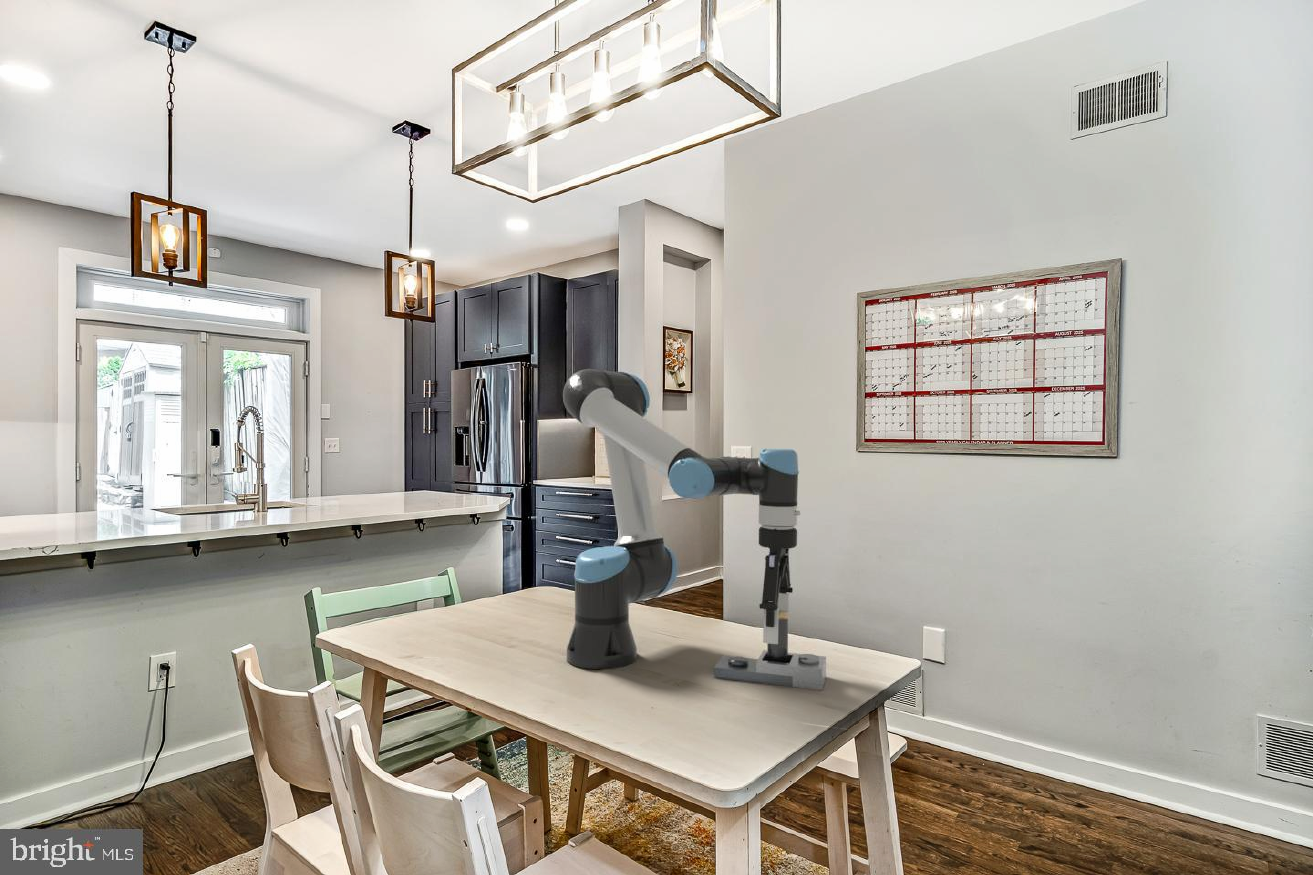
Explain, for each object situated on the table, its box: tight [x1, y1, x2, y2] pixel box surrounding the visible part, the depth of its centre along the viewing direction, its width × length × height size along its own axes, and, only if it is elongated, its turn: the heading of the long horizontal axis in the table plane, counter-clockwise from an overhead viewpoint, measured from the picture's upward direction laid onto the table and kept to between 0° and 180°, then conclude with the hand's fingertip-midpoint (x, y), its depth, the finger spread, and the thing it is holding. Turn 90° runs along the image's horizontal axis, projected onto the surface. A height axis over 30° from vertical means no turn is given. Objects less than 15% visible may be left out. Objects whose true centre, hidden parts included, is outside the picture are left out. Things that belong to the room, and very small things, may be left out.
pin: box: [766, 610, 789, 663], centre depth 135 cm, size 4×4×13 cm
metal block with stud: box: [713, 649, 827, 691], centre depth 136 cm, size 21×8×5 cm, turn 71°
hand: (776, 633), depth 136 cm, fingers open, 13 cm apart
